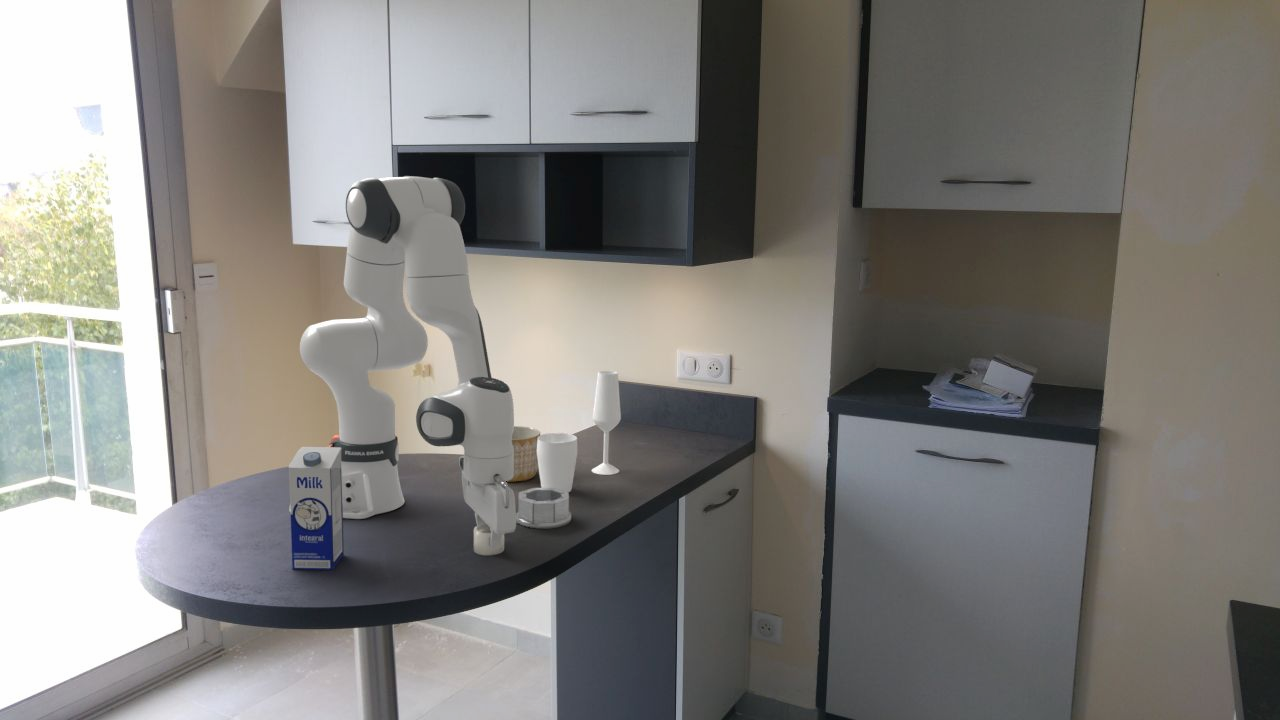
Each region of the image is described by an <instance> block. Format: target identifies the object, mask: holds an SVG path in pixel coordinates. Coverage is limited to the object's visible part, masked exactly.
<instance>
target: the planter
mask: <svg viewBox="0 0 1280 720" xmlns="http://www.w3.org/2000/svg"><path fill="white" fill-rule="evenodd" d="M540 435H541V431H540V430H538V429H536V428H533V427H528V426H521V425H520V426H519V425H514V431H513V434H512V445H513V448H514V476H513V478H512V479H511V480H509V481H507V483H514V482H515V483H516V481H517V482H518V481H519V482H525V481H528V480H530V479H533V478H534V477H535V476H536V474H537V470H538V469H537V468H538V459H537V439H538V436H540Z"/></svg>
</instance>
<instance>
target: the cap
mask: <svg viewBox="0 0 1280 720" xmlns="http://www.w3.org/2000/svg"><path fill="white" fill-rule="evenodd" d="M490 536H491V531H490V527H489V526H488V525H487V524H482V525H478V526H477V525H476V526H474V528H473V552H474V553H475V554H477V555H480V556H495V555H496V556H497V555H499V554H502V553H503V552H504V551H505V534H503V535H502V538H501V547H500V548H498V549H492V548H491V547H490V546H489V537H490Z"/></svg>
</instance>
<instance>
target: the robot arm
mask: <svg viewBox="0 0 1280 720" xmlns="http://www.w3.org/2000/svg"><path fill="white" fill-rule="evenodd" d="M465 211H466V201H465V197H464V195H463V193H462V191H461V188H460V187H459V185H457V184H456V183H455V182H453V181H451V180H448V179H444V178H441V177H433V178H431V177H423V176H414V175H413V176H412V175H411V176H410V175H404V176H396V177H391V176H390V177H383V178H377V177H367V178H364V179H361V180H357V181H355V182H354V183H353V184H352V185H351V187H350V188H349V190H348V192H347V194H346V197H345V213H346V218H347V221H348V222H349V224H350V230H349V234H348V240H347V245H346V246H347V247H346V257H345V265H344V266H345V267H344V274H343V288H344V290H345V293H346V294H347V296H348V297H349V298H350V299H352V300H353V301H354V302H356V303H357V304H360V305H361V306H364V307H365V308H367V313H366V316H365V317H360V318H359V317H358V318H341V319H340V318H339V319H329V320H325V321H322V322H317V323H315V324H311V325H309V326H308V327H306V329H305V331H304V332H303V333H302V336H301V338H300V340H299V341H300V342H299V354H300V357H301V358H300V359H301V360H302V362H303V363H304V365H305V367H306V368H307V369H308V370H309V371H310V372H312V373H313V374H315V375H317V376H318V378H321V379H322V381H324V382H325V384H327V386H328V387H329V389H330V390H331V393H332V394H333V397H334V399H335V402H336V408H337V415H338V428H339V432H338V433H339V434H336V435H333V436H332V438H331V440H330V443H329V446H328V447H341V468H342V507H343V519H353V520H362V519H363V520H364V519H367V518H370V517H373V516H375V515H379V514H384V513H388V512H391V511H394V510H396V509H397V510H398V508H401V507H402V506H403V505H404V504H405V502H406V501H405V498H404V495H403V492H402V487H401V483H400V477H399V473H398V472H399V470H398V463H399V453H400V452H399V443H398V442H399V441H398V436H397V435H396V405H395V401H394V400H393V398H392V396H390V394H388V393H387V392H385V391H384V390H382V389H379V388H378V387H374V386H372V385H371V384H370V380H369V373H371V372H380V371H391V370H400V369H403V368H406V367H407V368H408V367H410V366H413V365H415V364H418V363H420V362H422V360H423V359H424V357H425V356H426V354H427V350H428V345H429V339H428V334H427V331H426V330H425V327H424V326H423V325H422V323H421V322H420V321H422V322H423V323H426V324H427V325H429V326H431V327H433V328H436V329H439V331H442V332H443V333H444V334H446V336H447V337H448V339H449V340H450V342H451V345H452V349H453V355H454V361H455V365H456V366H455V367H456V372H457V378H458V383H457V386H456V388H453V389H450V390H447V391H443V392H440V393H436V394H433V395H431V396H430V397H427V398H425V399H423V400H422V401H421V402H420V403H419V406H418V408H417V410H416V414H415V415H416V416H415V421H416V428H417V430H418V432H419V435H420V436H421V439H423V440H424V441H425V442H426V443H427V444H429V445H431V446H434V447H454V446H461V447H463V455H461V456H459V458H458V466H459V468H460V469H461V481H462V482H461V484H462V493H463V494H462V495H463V499H464V502H465V503H466V504H467V506H469V507H470V508H471V510H473V511H474V517H475V522H476V526H478V525H482V524H487V525H488V526H489V527H490V531H491V536H490V537H489V546H490V547H491V548H492V549H498V548H500V547H501V538H502V535H503V534H504V535H505V534H510V533H514V532H515V531H516V528H517V522H516V512H517V510H516V509H517V507H516V496H515V493H514V491H513V489H512V488H511V487H510V486H509V485H508V482H506V481H509V480H511V479H512V478H513V476H514V448H513V445H512V434H513V431H514V426H515V413H514V412H515V409H514V399H513V394H512V390H511V388H510V387H509V385H508V384H507V383H505V382H504V381H502V380H501V379H497V378H494V377H492V374H491V368H490V367H491V366H490V361H489V356H488V350H487V345H486V338H485V334H484V333H485V332H484V327H483V323H482V322H483V321H482V320H481V316H480V314H479V313H480V312H479V311H478V309H477V307H476V306H475V302H474V299H473V296H472V290H471V285H470V276H469V265H468V257H467V252H466V246H465V243H464V239H463V235H462V234H463V233H462V230H461V224H462V222H463V220H464V216H465V213H466V212H465ZM404 278H405V287H406V296H407V300H408V304H409V307H410V309H411V311H412V313H414V315H415V316H416V317H417V318H418V319H420V321H419V320H418V319H416V318H415V317H414V316H413V315H412V314H411V313H410V311H409V310H408V308H407V306H406V303H405V300H404ZM288 510H289V511H290V508H289V509H288Z"/></svg>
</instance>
